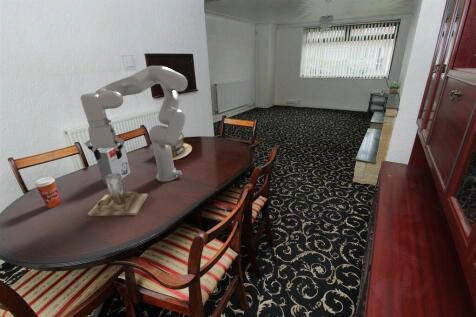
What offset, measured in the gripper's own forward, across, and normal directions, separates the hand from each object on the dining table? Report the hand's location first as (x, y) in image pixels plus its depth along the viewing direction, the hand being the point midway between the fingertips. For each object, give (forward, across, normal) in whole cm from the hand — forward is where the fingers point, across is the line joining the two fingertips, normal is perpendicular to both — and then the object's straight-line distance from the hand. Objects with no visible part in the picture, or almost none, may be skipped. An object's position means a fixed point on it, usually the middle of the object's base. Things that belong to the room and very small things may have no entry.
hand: (109, 158), depth 110 cm
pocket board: (+24, 0, +4) cm, 24 cm away
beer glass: (+23, -1, +4) cm, 23 cm away
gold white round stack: (+26, -15, -60) cm, 67 cm away
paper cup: (+24, +34, +1) cm, 41 cm away
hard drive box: (+24, +13, -25) cm, 37 cm away
